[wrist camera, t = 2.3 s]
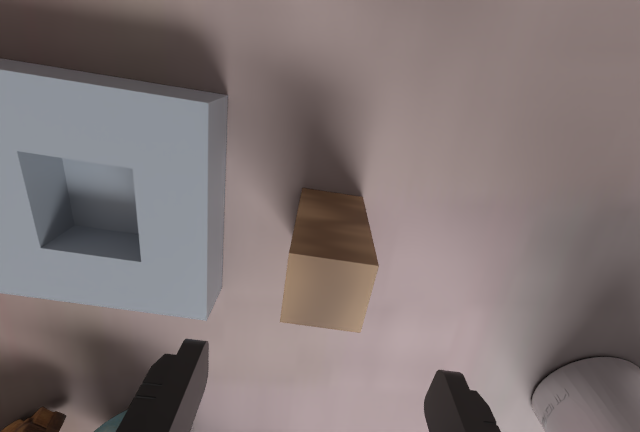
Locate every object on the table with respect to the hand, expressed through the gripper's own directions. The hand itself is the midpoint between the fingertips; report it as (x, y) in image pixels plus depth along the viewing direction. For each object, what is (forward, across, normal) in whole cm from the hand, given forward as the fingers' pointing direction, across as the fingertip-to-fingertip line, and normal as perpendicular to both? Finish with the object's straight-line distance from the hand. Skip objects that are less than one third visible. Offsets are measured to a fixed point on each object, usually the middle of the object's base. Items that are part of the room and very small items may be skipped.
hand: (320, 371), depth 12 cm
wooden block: (+12, 0, 0) cm, 12 cm away
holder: (+12, +14, 0) cm, 18 cm away
